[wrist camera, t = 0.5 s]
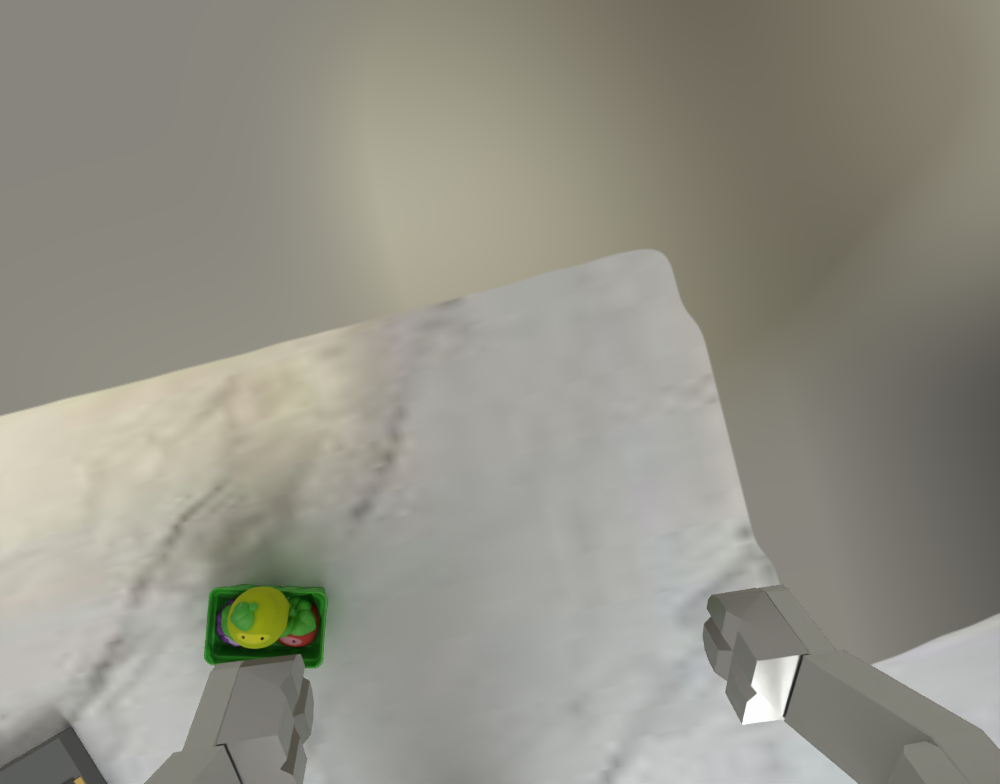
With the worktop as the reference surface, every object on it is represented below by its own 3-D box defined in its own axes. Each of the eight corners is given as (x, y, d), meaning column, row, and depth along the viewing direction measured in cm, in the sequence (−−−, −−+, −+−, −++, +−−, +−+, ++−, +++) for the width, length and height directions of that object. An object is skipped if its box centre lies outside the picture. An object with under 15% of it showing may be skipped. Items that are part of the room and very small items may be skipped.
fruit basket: (222, 643, 61) (173, 699, 50) (228, 560, 61) (181, 597, 50) (331, 646, 62) (308, 702, 51) (338, 564, 62) (315, 602, 51)
